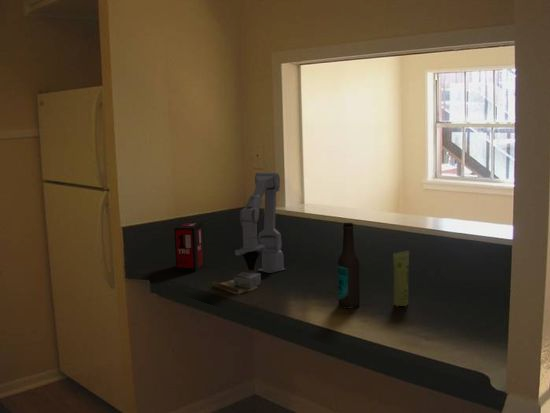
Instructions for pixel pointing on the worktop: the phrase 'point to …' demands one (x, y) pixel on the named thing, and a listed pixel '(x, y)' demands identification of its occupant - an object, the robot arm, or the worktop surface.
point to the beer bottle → (348, 271)
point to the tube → (401, 278)
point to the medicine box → (247, 280)
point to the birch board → (232, 287)
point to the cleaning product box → (189, 246)
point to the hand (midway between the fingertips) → (251, 269)
